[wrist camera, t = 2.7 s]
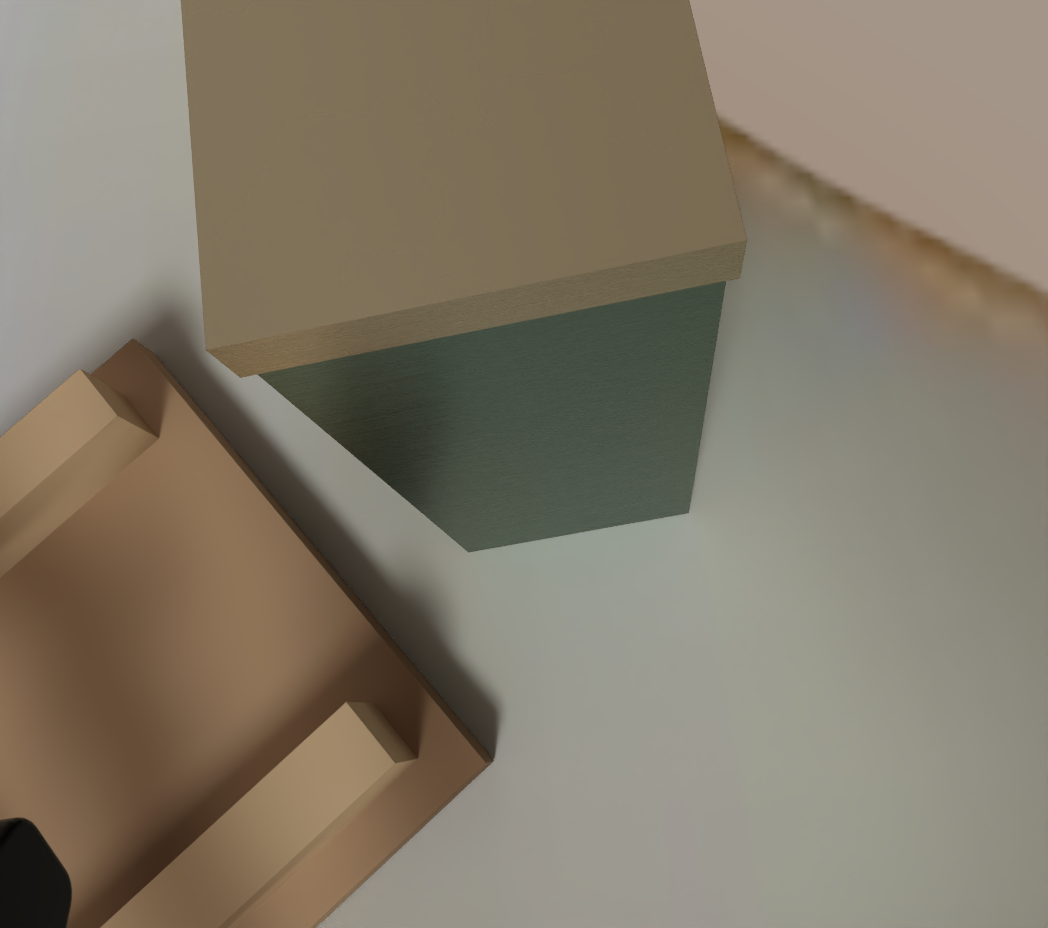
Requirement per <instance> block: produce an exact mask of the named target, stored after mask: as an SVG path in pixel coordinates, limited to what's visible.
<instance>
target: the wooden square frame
mask: <svg viewBox="0 0 1048 928" xmlns="http://www.w3.org/2000/svg"><path fill="white" fill-rule="evenodd" d="M493 761H494V760H493V759H492V758H491V757H490V755H489V754H488V753H487V752H486V751H485V749H484V748H483V747H482V746H481V745H480V743H479V742H478V741H477V740H476V739H475V737H474V736H473V735H472V734H471V733H470V732H469V730H468V729H467V728H466V727H465V726H464V724H463V723H462V722H461V721H460V720H459V718H458V717H457V716H456V715H455V714H454V712H453V711H452V710H451V709H450V708H449V706H448V705H447V704H446V703H445V702H444V700H443V699H442V698H441V697H440V696H439V694H438V693H437V692H436V691H435V690H434V688H433V687H432V686H431V685H430V684H429V682H428V681H427V680H426V679H425V678H424V676H423V675H422V674H421V673H420V672H419V670H418V669H417V668H416V667H415V666H414V664H413V663H412V662H411V661H410V660H409V658H408V657H407V656H406V655H405V654H404V652H403V651H402V650H401V649H400V648H399V646H398V645H397V644H396V643H395V642H394V641H393V639H392V638H391V637H390V636H389V635H388V633H387V632H386V631H385V630H384V629H383V627H382V626H381V625H380V624H379V623H378V621H377V620H376V619H375V618H374V617H373V615H372V614H371V613H370V612H369V611H368V609H367V608H366V607H365V606H364V605H363V603H362V602H361V601H360V600H359V599H358V597H357V596H356V595H355V594H354V593H353V591H352V590H351V589H350V588H349V587H348V585H347V584H346V583H345V582H344V581H343V579H342V578H341V577H340V576H339V575H338V573H337V572H336V571H335V570H334V569H333V567H332V566H331V565H330V564H329V563H328V561H327V560H326V559H325V558H324V557H323V555H322V554H321V553H320V552H319V551H318V549H317V548H316V547H315V546H314V545H313V544H312V542H311V541H310V540H309V539H308V538H307V536H306V535H305V534H304V533H303V532H302V530H301V529H300V528H299V527H298V526H297V524H296V523H295V522H294V521H293V520H292V518H291V517H290V516H289V515H288V514H287V512H286V511H285V510H284V509H283V508H282V506H281V505H280V504H279V503H278V502H277V500H276V499H275V498H274V497H273V496H272V494H271V493H270V492H269V491H268V490H267V488H266V487H265V486H264V485H263V484H262V482H261V481H260V480H259V479H258V478H257V476H256V475H255V474H254V473H253V472H252V470H251V469H250V468H249V467H248V466H247V464H246V463H245V462H244V461H243V460H242V458H241V457H240V456H239V455H238V454H237V453H236V451H235V450H234V449H233V448H232V447H231V445H230V444H229V443H228V442H227V441H226V439H225V438H224V437H223V436H222V435H221V433H220V432H219V431H218V430H217V429H216V427H215V426H214V425H213V424H212V423H211V421H210V420H209V419H208V418H207V417H206V415H205V414H204V413H203V412H202V411H201V409H200V408H199V407H198V406H197V405H196V403H195V402H194V401H193V400H192V399H191V397H190V396H189V395H188V394H187V393H186V391H185V390H184V389H183V388H182V387H181V385H180V384H179V383H178V382H177V381H176V379H175V378H174V377H173V376H172V375H171V373H170V372H169V371H168V370H167V369H166V367H165V366H164V365H163V364H162V363H161V361H160V360H159V359H158V358H157V357H156V356H155V354H154V353H152V352H151V351H150V350H148V349H147V348H145V347H144V346H143V345H141V344H140V343H138V342H137V341H136V340H134V339H132V340H131V341H129V342H128V343H127V344H126V345H125V346H124V347H122V348H121V349H120V350H119V351H118V352H117V353H115V354H114V355H113V356H112V357H111V358H110V359H109V360H107V361H106V362H105V363H104V364H103V365H102V366H100V367H99V368H98V369H97V370H96V371H95V372H93V373H92V374H91V375H90V374H88V373H86V372H85V371H83V370H81V369H79V370H78V371H77V372H75V373H74V374H73V375H72V376H71V377H70V378H68V379H67V380H66V381H65V382H64V383H63V384H61V385H60V386H59V387H58V388H57V389H56V390H55V391H53V392H52V393H51V394H50V395H49V396H48V397H46V398H45V399H44V400H43V401H42V402H41V403H39V404H38V405H37V406H36V407H35V408H34V409H32V410H31V411H30V412H29V413H28V414H27V415H26V416H24V417H23V418H22V419H21V420H20V421H19V422H17V423H16V424H15V425H14V426H13V427H12V428H10V429H9V430H8V431H7V432H6V433H5V434H3V435H2V436H1V437H0V820H3V819H9V818H15V817H21V818H26V819H28V820H30V821H31V822H33V823H34V824H35V826H36V827H37V828H38V830H39V831H40V833H41V834H42V836H43V837H44V838H45V840H46V841H47V843H48V844H49V846H50V847H51V849H52V850H53V852H54V853H55V854H56V856H57V857H58V859H59V860H60V862H61V863H62V865H63V866H64V868H65V869H66V871H67V872H68V874H69V877H70V880H71V886H72V902H71V909H70V913H69V918H68V923H67V928H316V927H317V926H318V925H319V924H320V923H321V922H322V921H323V920H324V919H325V918H327V917H328V916H329V915H330V914H331V913H332V912H333V911H334V910H335V909H336V908H337V907H338V906H339V905H340V904H342V903H343V902H344V901H345V900H346V899H347V898H348V897H349V896H350V895H351V894H352V893H353V892H354V891H355V890H356V889H358V888H359V887H360V886H361V885H362V884H363V883H364V882H365V881H366V880H367V879H368V878H369V877H370V876H371V875H372V874H374V873H375V872H376V871H377V870H378V869H379V868H380V867H381V866H382V865H383V864H384V863H385V862H386V861H387V860H388V859H390V858H391V857H392V856H393V855H394V854H395V853H396V852H397V851H398V850H399V849H400V848H401V847H402V846H403V845H405V844H406V843H407V842H408V841H409V840H410V839H411V838H412V837H413V836H414V835H415V834H416V833H417V832H418V831H419V830H421V829H422V828H423V827H424V826H425V825H426V824H427V823H428V822H429V821H430V820H431V819H432V818H433V817H434V816H435V815H437V814H438V813H439V812H440V811H441V810H442V809H443V808H444V807H445V806H446V805H447V804H448V803H449V802H450V801H451V800H453V799H454V798H455V797H456V796H457V795H458V794H459V793H460V792H461V791H462V790H463V789H464V788H465V787H466V786H467V785H469V784H470V783H471V782H472V781H473V780H474V779H475V778H476V777H477V776H478V775H479V774H480V773H481V772H482V771H484V770H485V769H486V768H487V767H488V766H489V765H490V764H491V763H492V762H493Z"/></svg>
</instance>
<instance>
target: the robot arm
mask: <svg viewBox="0 0 1048 928" xmlns="http://www.w3.org/2000/svg"><path fill="white" fill-rule="evenodd" d="M71 902H72V886H71V880H70V877H69V874H68V872H67V871H66V869H65V868H64V866H63V865H62V863H61V862H60V860H59V859H58V857H57V856H56V854H55V853H54V852H53V850H52V849H51V847H50V846H49V844H48V843H47V841H46V840H45V838H44V837H43V836H42V834H41V833H40V831H39V830H38V828H37V827H36V826H35V824H34V823H33V822H31V821H30V820H28V819H26V818H21V817H15V818H9V819H3V820H0V928H67V923H68V918H69V913H70V909H71Z"/></svg>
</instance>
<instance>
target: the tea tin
mask: <svg viewBox="0 0 1048 928" xmlns="http://www.w3.org/2000/svg"><path fill="white" fill-rule="evenodd" d="M181 9H182V23H183V37H184V51H185V65H186V79H187V93H188V107H189V121H190V135H191V149H192V163H193V177H194V191H195V205H196V219H197V233H198V247H199V261H200V275H201V289H202V303H203V317H204V331H205V345H206V351H208V352H209V353H210V354H211V355H213V356H214V357H215V358H216V359H218V360H219V361H220V362H221V363H223V364H224V365H225V366H226V367H228V368H229V369H230V370H231V371H233V372H234V373H235V374H236V375H238V376H239V377H240V378H241V377H246V376H251V375H256V374H258V375H259V376H260V377H261V378H263V379H264V380H265V381H266V382H267V383H268V384H270V385H271V386H272V387H273V388H274V389H276V390H277V391H278V392H279V393H280V394H281V395H283V396H284V397H285V398H286V399H287V400H289V401H290V402H291V403H292V404H293V405H295V406H296V407H297V408H298V409H299V410H300V411H302V412H303V413H304V414H305V415H306V416H308V417H309V418H310V419H311V420H312V421H313V422H315V423H316V424H317V425H318V426H319V427H321V428H322V429H323V430H324V431H325V432H327V433H328V434H329V435H330V436H331V437H332V438H334V439H335V440H336V441H337V442H338V443H340V444H341V445H342V446H343V447H344V448H345V449H347V450H348V451H349V452H350V453H351V454H353V455H354V456H355V457H356V458H357V459H359V460H360V461H361V462H362V463H363V464H364V465H366V466H367V467H368V468H369V469H370V470H372V471H373V472H374V473H375V474H376V475H377V476H379V477H380V478H381V479H382V480H383V481H385V482H386V483H387V484H388V485H389V486H391V487H392V488H393V489H394V490H395V491H396V492H398V493H399V494H400V495H401V496H402V497H404V498H405V499H406V500H407V501H408V502H409V503H411V504H412V505H413V506H414V507H415V508H417V509H418V510H419V511H420V512H421V513H423V514H424V515H425V516H426V517H427V518H428V519H430V520H431V521H432V522H433V523H434V524H436V525H437V526H438V527H439V528H440V529H441V530H443V531H444V532H445V533H446V534H447V535H449V536H450V537H451V538H452V539H453V540H455V541H456V542H457V543H458V544H459V545H460V546H462V547H463V548H464V549H465V550H466V551H468V552H473V551H478V550H484V549H490V548H495V547H501V546H506V545H512V544H518V543H523V542H529V541H534V540H540V539H545V538H551V537H557V536H562V535H568V534H573V533H579V532H585V531H590V530H596V529H601V528H607V527H613V526H618V525H624V524H629V523H635V522H641V521H646V520H652V519H657V518H663V517H668V516H674V515H680V514H685V513H689V507H690V501H691V495H692V489H693V483H694V476H695V470H696V464H697V458H698V451H699V445H700V439H701V433H702V427H703V420H704V414H705V408H706V402H707V396H708V389H709V383H710V377H711V371H712V364H713V358H714V352H715V346H716V340H717V333H718V327H719V321H720V315H721V309H722V302H723V296H724V290H725V284H726V281H727V280H732V279H737V278H740V274H741V269H742V263H743V258H744V253H745V248H746V243H747V238H746V234H745V230H744V226H743V222H742V218H741V214H740V209H739V205H738V201H737V197H736V193H735V189H734V185H733V180H732V176H731V172H730V168H729V164H728V160H727V155H726V151H725V147H724V143H723V139H722V135H721V131H720V126H719V122H718V118H717V114H716V110H715V106H714V102H713V97H712V93H711V89H710V85H709V81H708V77H707V73H706V68H705V64H704V60H703V56H702V52H701V48H700V44H699V40H698V35H697V31H696V27H695V23H694V19H693V15H692V10H691V7H690V2H689V0H181Z"/></svg>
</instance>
